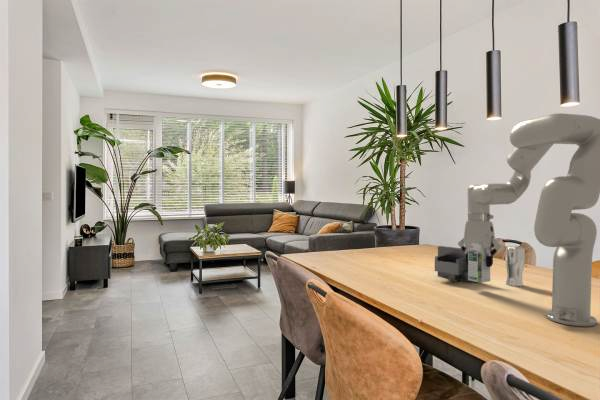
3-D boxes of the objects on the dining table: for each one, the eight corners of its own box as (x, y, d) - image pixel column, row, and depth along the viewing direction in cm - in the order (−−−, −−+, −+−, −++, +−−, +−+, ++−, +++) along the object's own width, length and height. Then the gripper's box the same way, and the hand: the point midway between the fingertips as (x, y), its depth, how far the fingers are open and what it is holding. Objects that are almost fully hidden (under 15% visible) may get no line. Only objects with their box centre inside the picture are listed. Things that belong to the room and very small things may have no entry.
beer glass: (526, 287, 161) (527, 249, 160) (507, 286, 162) (508, 248, 162) (521, 283, 168) (521, 246, 167) (502, 282, 169) (503, 245, 168)
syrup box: (467, 280, 156) (467, 242, 156) (478, 278, 159) (478, 241, 159) (479, 283, 151) (479, 243, 151) (491, 281, 154) (490, 242, 153)
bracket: (467, 286, 162) (468, 253, 161) (426, 278, 175) (426, 248, 174) (480, 282, 169) (480, 250, 169) (439, 275, 182) (440, 245, 182)
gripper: (506, 218, 151) (507, 266, 151) (461, 216, 164) (461, 261, 164) (498, 219, 146) (498, 269, 146) (451, 217, 159) (452, 264, 159)
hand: (479, 265), depth 155 cm, fingers closed on syrup box, 6 cm apart
